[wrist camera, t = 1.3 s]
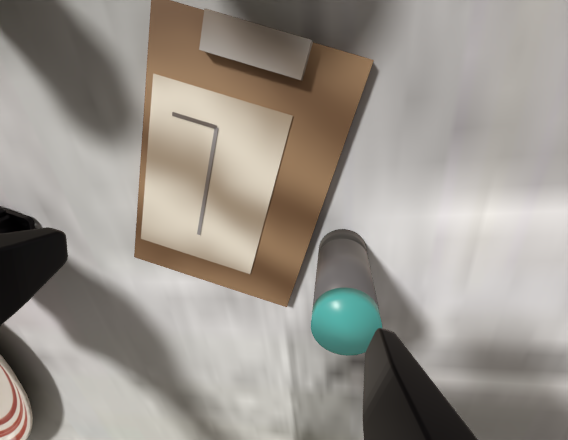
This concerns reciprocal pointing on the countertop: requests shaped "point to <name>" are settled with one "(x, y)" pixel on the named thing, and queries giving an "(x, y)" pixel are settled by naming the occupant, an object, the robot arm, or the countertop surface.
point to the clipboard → (238, 146)
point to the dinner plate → (13, 406)
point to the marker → (344, 295)
